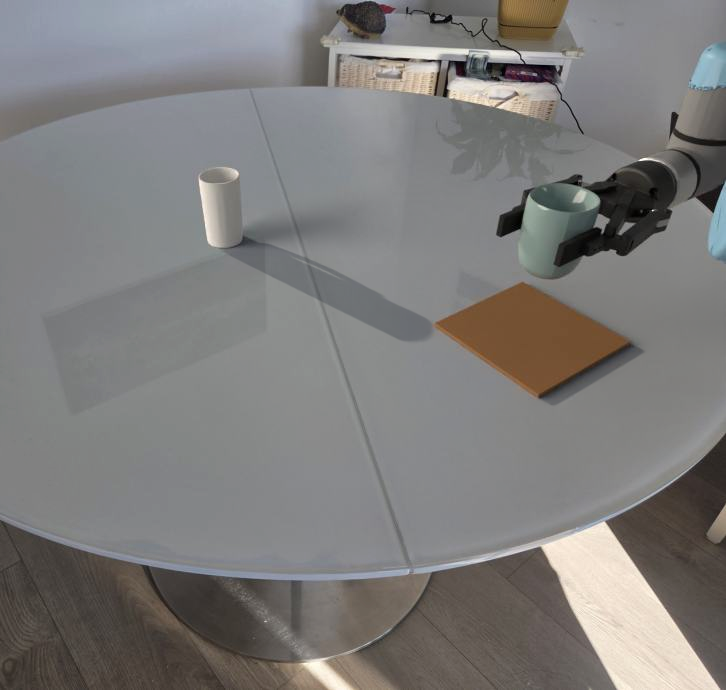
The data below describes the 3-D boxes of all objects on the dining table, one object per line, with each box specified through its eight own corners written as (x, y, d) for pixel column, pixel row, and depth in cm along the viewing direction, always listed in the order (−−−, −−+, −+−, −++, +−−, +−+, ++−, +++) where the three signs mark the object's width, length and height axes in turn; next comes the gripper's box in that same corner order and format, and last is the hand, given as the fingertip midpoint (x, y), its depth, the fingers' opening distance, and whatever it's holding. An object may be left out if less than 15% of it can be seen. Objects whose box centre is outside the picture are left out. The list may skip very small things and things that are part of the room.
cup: (591, 273, 79) (615, 199, 73) (551, 295, 76) (572, 219, 70) (538, 248, 84) (556, 177, 78) (499, 267, 81) (514, 195, 75)
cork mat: (629, 344, 85) (631, 341, 84) (537, 398, 78) (539, 394, 77) (521, 284, 97) (522, 281, 97) (433, 326, 90) (434, 322, 90)
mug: (244, 248, 110) (239, 182, 102) (205, 250, 110) (197, 185, 102) (244, 220, 117) (239, 158, 110) (208, 222, 117) (200, 160, 110)
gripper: (716, 244, 79) (597, 308, 70) (573, 187, 93) (459, 234, 84) (741, 188, 74) (617, 248, 65) (587, 136, 88) (467, 180, 79)
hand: (528, 240), depth 75 cm, fingers closed on cup, 8 cm apart
